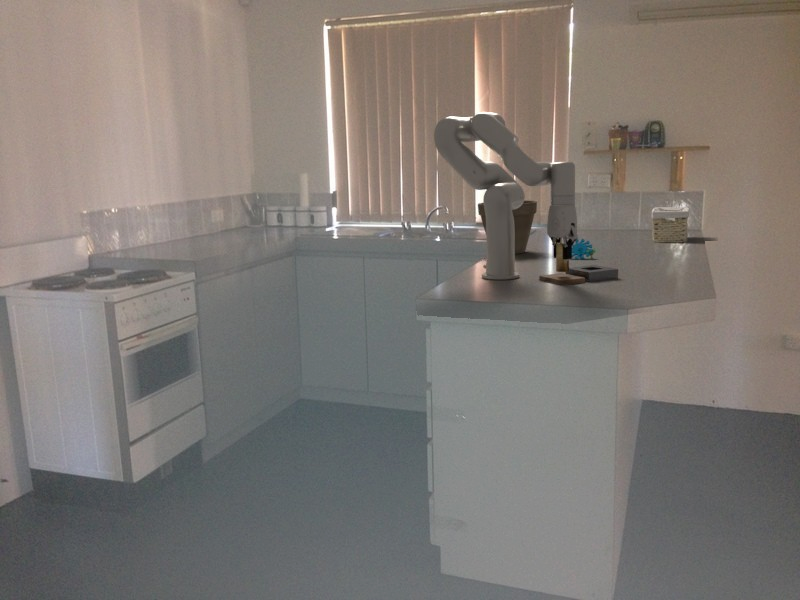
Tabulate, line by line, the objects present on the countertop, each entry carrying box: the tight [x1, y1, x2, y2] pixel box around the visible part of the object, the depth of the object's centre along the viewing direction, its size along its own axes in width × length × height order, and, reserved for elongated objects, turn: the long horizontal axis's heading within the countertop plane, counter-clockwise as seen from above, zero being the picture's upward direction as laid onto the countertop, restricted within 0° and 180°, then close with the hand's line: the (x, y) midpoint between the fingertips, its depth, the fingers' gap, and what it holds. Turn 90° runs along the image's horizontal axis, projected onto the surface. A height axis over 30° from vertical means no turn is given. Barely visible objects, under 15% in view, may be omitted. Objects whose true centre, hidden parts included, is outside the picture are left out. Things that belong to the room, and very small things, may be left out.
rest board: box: [538, 272, 586, 286], centre depth 232 cm, size 12×9×2 cm
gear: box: [572, 238, 596, 261], centre depth 284 cm, size 11×6×10 cm
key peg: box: [555, 242, 570, 273], centre depth 231 cm, size 4×4×9 cm
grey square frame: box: [565, 264, 619, 282], centre depth 238 cm, size 12×12×3 cm
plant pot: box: [477, 199, 538, 255], centre depth 307 cm, size 25×25×22 cm
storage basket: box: [651, 206, 690, 244], centre depth 334 cm, size 24×16×15 cm
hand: (562, 257), depth 231 cm, fingers closed on key peg, 4 cm apart
